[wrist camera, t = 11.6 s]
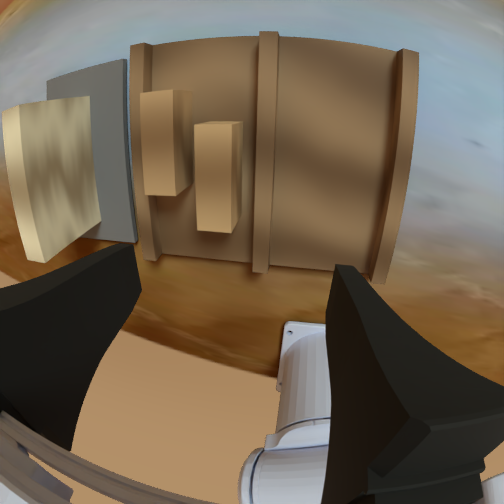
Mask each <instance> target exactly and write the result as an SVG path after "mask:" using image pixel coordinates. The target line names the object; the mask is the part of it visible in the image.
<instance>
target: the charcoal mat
mask: <svg viewBox="0 0 504 504" xmlns="http://www.w3.org/2000/svg"><path fill="white" fill-rule="evenodd" d="M126 73H127V59H120V60H115V61H111V62H107V63H103V64H99V65H95V66H92V67H88V68H85V69H81V70H78V71H75V72H71V73H68V74H65V75H62V76H59V77H56V78H53V79H51V80H48V81H47V100H55V99H63V98H73V97H84V96H90V120H91V138H92V151H93V162H94V171H95V180H96V188H97V195H98V202H99V209H100V215H101V222H99V223H98V224H96V225H95V226H94V227H92V228H91V229H89V230H88V231H87V232H85V233H84V234H82V235H81V236H80V237H83V238H92V239H102V240H112V241H122V242H132V243H135V242H136V241H138V237H137V230H136V222H135V215H134V206H133V197H132V188H131V177H130V165H129V151H128V133H127V102H126Z"/></svg>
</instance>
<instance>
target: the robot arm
mask: <svg viewBox="0 0 504 504" xmlns="http://www.w3.org/2000/svg"><path fill="white" fill-rule="evenodd" d="M141 291H142V288H141V283H140V278H139V273H138V268H137V263H136V257H135V251H134V246H133V244H123V243H119V244H115V245H112V246H109V247H107V248H104V249H102V250H99V251H97V252H95V253H92V254H90V255H88V256H86V257H84V258H81V259H79V260H77V261H75V262H73V263H70V264H68V265H66V266H63V267H61V268H59V269H56V270H54V271H52V272H50V273H47V274H45V275H42V276H39V277H37V278H34V279H31V280H28V281H25V282H22V283H18V284H15V285H11V286H7V287H4V288H0V504H72V503H70V498H71V496H72V494H73V490H72V488H70V487H68V486H67V485H65V484H64V483H62V482H61V481H60V480H58V479H57V478H55V477H54V476H53V475H51V474H50V473H49V472H47V471H46V470H45V469H44V468H42V467H41V466H40V465H39V464H38V463H36V462H35V461H34V460H32V459H31V458H30V457H29V454H28V452H29V453H30V454H31V455H33V456H35V457H36V458H38V459H39V460H41V461H42V462H44V463H45V464H47V465H49V466H50V467H52V468H54V469H55V470H57V471H59V472H61V473H62V474H64V475H66V476H68V477H69V478H71V479H73V480H75V481H77V482H79V483H81V484H83V485H85V486H87V487H89V488H91V489H93V490H95V491H97V492H99V493H101V494H103V495H106V496H108V497H110V498H112V499H115V500H117V501H120V502H122V503H124V504H217V503H212V502H208V501H203V500H198V499H194V498H190V497H186V496H182V495H179V494H175V493H171V492H168V491H164V490H161V489H158V488H155V487H152V486H149V485H146V484H143V483H140V482H137V481H134V480H132V479H129V478H126V477H124V476H121V475H119V474H116V473H114V472H111V471H109V470H106V469H104V468H102V467H100V466H98V465H95V464H93V463H91V462H89V461H87V460H85V459H82V458H81V457H79V456H77V455H75V454H72V453H71V452H69V451H71V448H72V442H73V437H74V432H75V429H76V424H77V421H78V417H79V414H80V410H81V407H82V404H83V401H84V398H85V396H86V393H87V390H88V388H89V385H90V383H91V380H92V378H93V376H94V374H95V371H96V369H97V367H98V365H99V363H100V361H101V359H102V357H103V356H104V354H105V352H106V351H107V348H108V347H109V346H110V344H111V343H112V341H113V340H114V338H115V337H116V335H117V333H118V332H119V330H120V329H121V327H122V326H123V324H124V323H125V321H126V320H127V318H128V317H129V315H130V314H131V312H132V310H133V308H134V306H135V304H136V302H137V300H138V298H139V295H140V293H141ZM288 331H292V332H288ZM276 390H277V391H278V392H281V395H280V403H279V411H278V418H277V426H276V433H275V434H271V435H266V440H265V446H264V448H257V449H255V450H254V451H253V452H252V453H251V454H250V455H249V457H248V458H247V459H246V461H245V462H244V464H243V466H242V468H241V471H240V475H239V480H238V500H239V504H504V472H503V473H500V474H498V475H495V476H493V477H490V478H488V479H487V480H484V481H482V482H481V479H480V474H479V473H482V472H483V471H484V470H485V463H484V457H486V456H487V455H488V454H489V453H490V452H492V451H493V450H494V449H495V448H496V447H497V446H498V445H500V443H502V442H503V441H504V386H502V385H500V384H497V383H495V382H493V381H491V380H489V379H487V378H485V377H483V376H481V375H479V374H477V373H475V372H473V371H472V370H470V369H468V368H466V367H465V366H463V365H461V364H460V363H458V362H456V361H455V360H453V359H452V358H450V357H449V356H447V355H446V354H444V353H443V352H442V351H440V350H439V349H437V348H436V347H435V346H433V345H432V344H431V343H429V342H428V341H427V340H425V339H424V338H423V337H422V336H421V335H419V334H418V333H417V332H416V331H415V330H413V329H412V328H411V327H410V326H409V325H408V324H407V323H406V322H404V321H403V320H402V319H401V318H400V317H399V316H398V315H397V314H396V313H395V312H394V311H393V310H392V309H391V308H390V307H389V306H388V305H387V303H386V302H385V301H384V300H383V299H382V298H381V297H380V296H379V295H378V294H377V292H376V291H375V290H374V289H373V288H372V287H371V286H370V284H369V283H368V282H367V281H366V280H365V279H364V277H363V276H362V275H361V274H360V273H359V272H358V270H357V269H356V268H355V267H354V266H352V265H341V264H335V269H334V274H333V279H332V284H331V289H330V294H329V299H328V304H327V309H326V324H315V323H304V322H294V321H288V322H286V323H285V325H284V333H283V341H282V349H281V356H280V364H279V371H278V378H277V386H276Z"/></svg>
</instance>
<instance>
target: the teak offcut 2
mask: <svg viewBox="0 0 504 504" xmlns="http://www.w3.org/2000/svg"><path fill="white" fill-rule="evenodd" d="M194 151H195V188H196V213H197V230H200V231H212V232H224V233H232V231H233V229H234V227H235V225H236V224H237V222H238V220H239V218H240V216H241V214H242V151H243V122H235V121H210V122H205V123H200V124H195V125H194Z"/></svg>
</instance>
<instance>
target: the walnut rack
mask: <svg viewBox="0 0 504 504" xmlns="http://www.w3.org/2000/svg"><path fill="white" fill-rule="evenodd" d="M418 79H419V53H418V52H415V51H411V50H407V49H401V50H399V51H397V52H396V51H392V50H387V49H382V48H377V47H372V46H367V45H361V44H355V43H348V42H341V41H333V40H324V39H314V38H301V37H282V36H279V33H278V32H272V31H260V32H259V36H238V37H218V38H205V39H195V40H186V41H178V42H171V43H164V44H158V45H150V44H147V43H140V44H135V45H131V46H130V131H131V150H132V165H133V177H134V188H135V198H136V207H137V215H138V223H139V231H140V238H141V245H142V252H143V258H144V260H151V261H156V260H157V259H158V258H159V257H160V256H161V254H162V253H164V254H173V255H182V256H191V257H201V258H210V259H220V260H229V261H239V262H249V263H253V270H252V272H257V273H267V274H268V269H269V265H279V266H289V267H299V268H309V269H320V270H330V271H334V269H335V264H341V265H352V266H354V267H355V268H356V269H357V270H358V272H359V273H363V274H368V275H369V278H370V282H371V283H373V284H385V282H386V278H387V274H388V271H389V267H390V263H391V259H392V256H393V252H394V248H395V243H396V239H397V235H398V230H399V226H400V221H401V216H402V212H403V207H404V201H405V196H406V190H407V185H408V179H409V172H410V166H411V159H412V151H413V143H414V134H415V124H416V113H417V99H418ZM172 89H174V90H186V91H192V142H193V182H194V183H192V184H191V185H190V186H188V187H187V188H186V189H184V190H183V191H182V192H180V193H179V194H178V195H177V196H160V195H145V189H144V177H143V163H142V146H141V122H140V93H145V92H153V91H162V90H172ZM210 121H235V122H243V151H242V214H241V216H240V218H239V220H238V222H237V224H236V225H235V227H234V229H233V231H232V233H224V232H212V231H200V230H197V213H196V188H195V151H194V125H195V124H200V123H205V122H210Z"/></svg>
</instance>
